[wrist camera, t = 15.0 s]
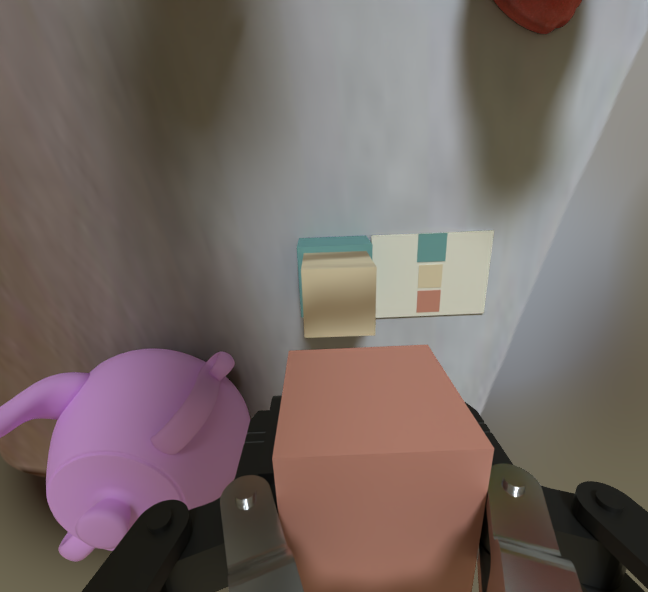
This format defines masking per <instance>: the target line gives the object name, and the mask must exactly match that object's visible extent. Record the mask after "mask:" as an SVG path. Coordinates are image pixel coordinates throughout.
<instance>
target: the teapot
mask: <svg viewBox="0 0 648 592" xmlns="http://www.w3.org/2000/svg"><path fill="white" fill-rule="evenodd" d="M234 365H235V362H234V359H233V358H232V356H231V355H230V354H228V353H226V352H222V351H221V352H218V353H216V354H214V355H213V356H212V357H211V358H210V359H209V360H208V361H207V362H205V361H203V360H201V359H198V358H196V357H194V356H191V355H188V354H185V353H182V352H178V351H173V350H168V349H158V348H155V349H140V350H133V351H130V352H126V353H122V354H119V355H116V356H114V357H112V358H109V359H107V360H106V361H104V362H102V363H101V364H99V365H98V366H97V367H96V368H94V369H93V370H92V371H91V372H90V373H79V372H70V373H60V374H57V375H53V376H50V377H47V378H44V379H42V380H40V381H38V382H36V383H34V384H33V385H31V386H30V387H28V388H27V389H25V390H24V391H22V392H21V393H19V394H18V395H16V396H15V397H14V398H12V399H11V400H9V401H8V402H7V403H5V404H4V405H2V406H1V407H0V438H1V437H3V436H4V435H6V434H7V433H9V432H10V431H12V430H13V429H15V428H16V427H17V426H19V425H20V424H22V423H24V422H26V421H29V420H32V419H37V418H46V419H56V420H57V423H56V426H55V428H54V431H53V434H52V439H51V443H50V449H49V455H48V463H47V473H46V491H47V500H48V504H49V507H50V509H51V511H52V513H53V515H54V517H55V518H56V520H57V521H58V522H59V524H60V525H62V526H63V528H64V529H66V530H67V531H68V533H67V534H66V536H65V537H64V539H63V540H62V542H61V544H60V546H59V552H60V554H61V555H62V556H63V557H64V558H66V559H68V560H71V561H81V560H82V559H84V558H85V557H87V556H88V555H89V554H90V553H91V552H92V551H93V549H94V548H99V549H106V550H111V551H113V550H114V549H115V548H116V546H117V545H118V544H119V542H120V541H121V540H122V538H123V537H124V536H125V535H126V533H127V532H128V531H129V529H130V528H131V527H132V525H133V524H134V523H135V521H136V520H137V519H138V518H139V517H140V515H141V514H142V513H143V512H144V511H146V510H147V509H148V508H150V507H151V506H153V505H155V504H157V503H159V502H162V501H165V500H179V501H182V502H183V503H185V504H186V506H187V507H188V510H190V509H193V508H196V507H199V506H202V505H205V504H208V503H210V502H213V501H215V500H216V499H218V498H220V497H221V495H222V492H223V491H224V489H225V488H226V487H227V485H229V484H230V483H231V482H232V481H233V480H234V478H235V475H236V472H237V468H238V464H239V461H240V457H241V453H242V449H243V446H244V444H245V438H246V434H247V431H248V427H249V423H250V416H249V412H248V408H247V406H246V404H245V401H244V399H243V397H242V396H241V394H240V392H239V391H238V389H237V388H236V387H235V386H234V384H233V383H232V382H231V381H230V380H229V379H228V378H227V377H226V375H227V374H228V373H229V372H230V371H231V370H232V368H233V367H234Z"/></svg>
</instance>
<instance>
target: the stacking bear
mask: <svg viewBox="0 0 648 592" xmlns="http://www.w3.org/2000/svg"><path fill="white" fill-rule="evenodd" d="M581 1H582V0H494V2H495V3H496V4H497V5H498V7H499V8H500V9H501V10H502V11H503V12H504V13H505V14H506V15H507V16H508V17H509V18H511V19H512V20H513V21H515V22H516V23H518V24H519V25H521V26H523V27H524V28H526V29H529V30H531V31H533V32H536V33H540V34H548V33H550V32H551V31H553V30H554V29H555V28H560V27H563V26H564V25H565V24H566V23H567V22H568V21H569V20H570V19H571V18H572V17H573V15H574V13H575V10H576V8H577V7H578V6H579V5H580V3H581Z"/></svg>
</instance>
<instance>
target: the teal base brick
mask: <svg viewBox="0 0 648 592" xmlns="http://www.w3.org/2000/svg"><path fill="white" fill-rule="evenodd" d="M372 248H373V244H372V243H371V242H370V240H369V239H368V238H367V237H366V236H346V237H322V238H299V241H298V245H297V258H298V274H299V289H300V304H301V317H304V316H303V297H302V278H301V267H302V260H303V254H304V253H322V252H351V251H367V253H368V254H369V256H370V257H371V259H372Z"/></svg>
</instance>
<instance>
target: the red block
mask: <svg viewBox="0 0 648 592" xmlns="http://www.w3.org/2000/svg"><path fill="white" fill-rule="evenodd" d="M493 454H494V447H493V446H492V444H491V443H490V441H489V439H488V438H487V436H486V435H485V433H484V432H483V430H482V429H481V427H480V425H479V424H478V422H477V421H476V419H475V418H474V416H473V415H472V413H471V412H470V410H469V408H468V407H467V405H466V404H465V402H464V401H463V399H462V398H461V396H460V394H459V393H458V391H457V390H456V388H455V387H454V385H453V384H452V382H451V380H450V379H449V377H448V376H447V374H446V373H445V371H444V370H443V368H442V366H441V365H440V363H439V362H438V360H437V359H436V357H435V356H434V354H433V352H432V351H431V349H430V348H429V346H428V345H410V346H387V347H364V348H341V349H318V350H295V351H289V354H288V360H287V367H286V373H285V380H284V386H283V392H282V399H281V405H280V412H279V418H278V425H277V431H276V437H275V444H274V450H273V457H272V461H273V470H274V479H275V488H276V497H277V506H278V515H279V520H280V523H281V527H282V530H283V533H284V537H285V540H286V544H287V547H288V549H291V551H292V554H293V557H294V560H295V563H296V566H297V570H298V573H299V576H300V580H301V583H302V586H303V590H304V592H472V586H473V579H474V573H475V567H476V560H477V554H478V548H479V542H480V535H481V529H482V523H483V517H484V510H485V504H486V498H487V491H488V485H489V479H490V473H491V466H492V460H493Z"/></svg>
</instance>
